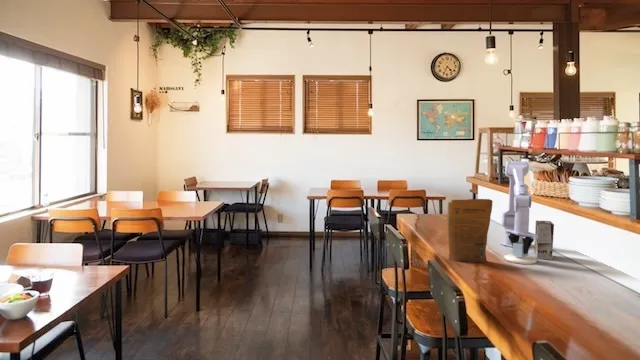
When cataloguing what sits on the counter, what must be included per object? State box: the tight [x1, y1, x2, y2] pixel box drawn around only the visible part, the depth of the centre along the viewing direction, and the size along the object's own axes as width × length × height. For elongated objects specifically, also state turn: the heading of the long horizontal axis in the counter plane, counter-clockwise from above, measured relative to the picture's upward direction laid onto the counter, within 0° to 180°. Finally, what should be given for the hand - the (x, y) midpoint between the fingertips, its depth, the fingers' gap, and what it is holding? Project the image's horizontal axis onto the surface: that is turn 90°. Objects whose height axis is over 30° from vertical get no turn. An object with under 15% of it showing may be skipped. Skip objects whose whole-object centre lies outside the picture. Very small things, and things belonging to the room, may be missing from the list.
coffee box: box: [533, 220, 555, 261], centre depth 192 cm, size 9×6×16 cm
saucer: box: [503, 253, 537, 265], centre depth 187 cm, size 13×13×1 cm
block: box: [511, 242, 529, 258], centre depth 187 cm, size 4×4×6 cm
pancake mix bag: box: [446, 198, 494, 263], centre depth 185 cm, size 7×19×28 cm, turn 81°
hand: (520, 252), depth 187 cm, fingers closed on block, 4 cm apart
